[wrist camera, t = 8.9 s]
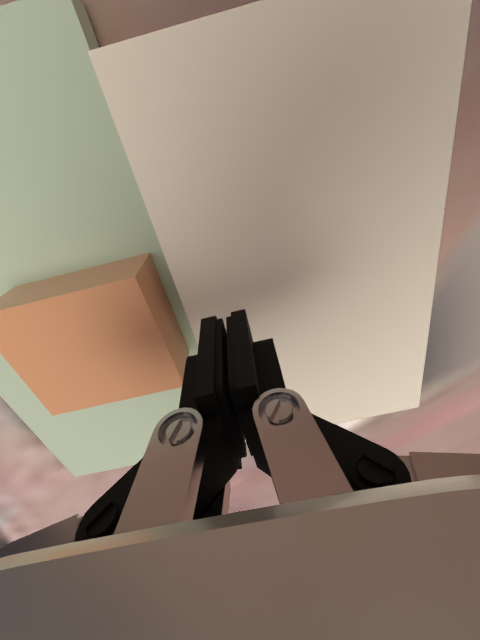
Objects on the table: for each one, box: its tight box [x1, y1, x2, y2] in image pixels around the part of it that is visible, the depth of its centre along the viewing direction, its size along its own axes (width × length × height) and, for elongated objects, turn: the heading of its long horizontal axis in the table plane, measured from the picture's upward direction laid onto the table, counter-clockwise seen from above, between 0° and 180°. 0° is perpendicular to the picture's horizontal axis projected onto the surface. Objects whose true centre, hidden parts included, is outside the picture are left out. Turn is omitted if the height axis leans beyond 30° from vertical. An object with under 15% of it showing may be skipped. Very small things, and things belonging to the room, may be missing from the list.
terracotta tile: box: [0, 253, 189, 416], centre depth 15 cm, size 7×6×3 cm
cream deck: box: [88, 0, 472, 442], centre depth 15 cm, size 12×20×3 cm, turn 13°
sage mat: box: [0, 0, 198, 477], centre depth 17 cm, size 13×24×2 cm, turn 13°
